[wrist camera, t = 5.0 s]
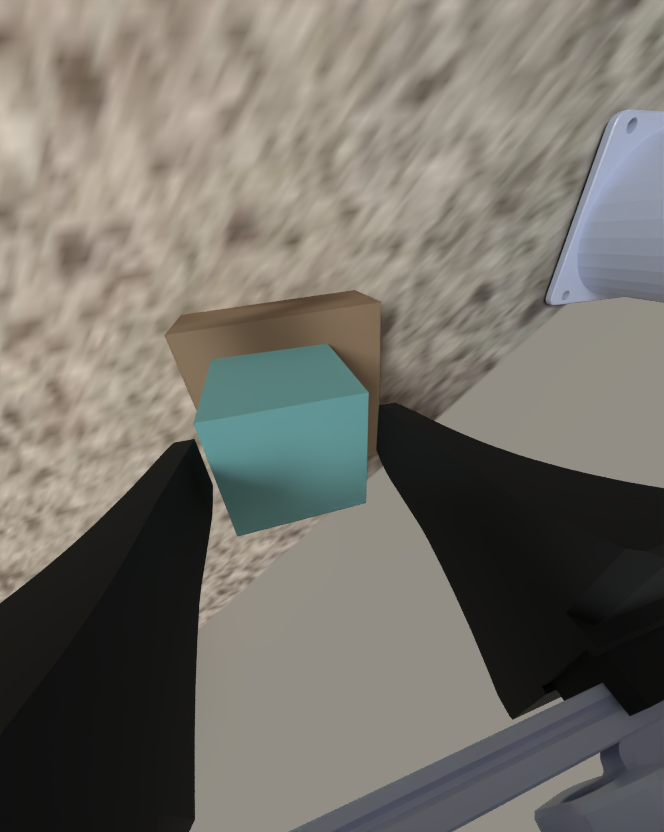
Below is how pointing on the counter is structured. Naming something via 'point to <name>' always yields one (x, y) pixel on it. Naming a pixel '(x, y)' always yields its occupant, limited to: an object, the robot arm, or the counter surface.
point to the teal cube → (284, 435)
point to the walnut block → (285, 339)
